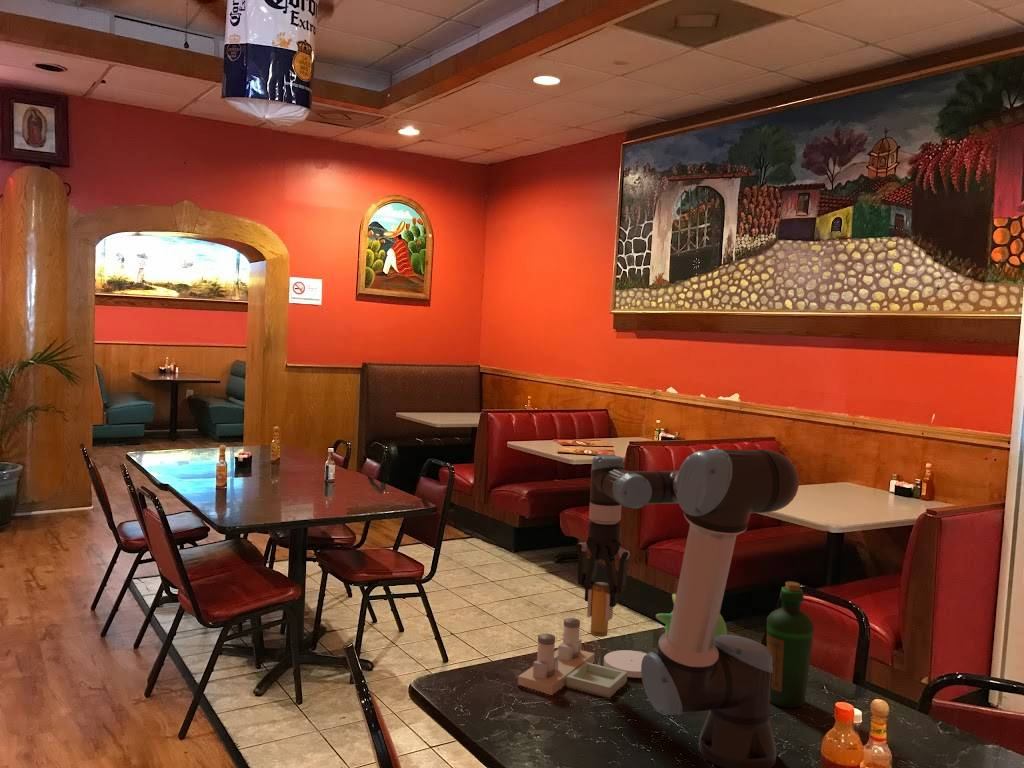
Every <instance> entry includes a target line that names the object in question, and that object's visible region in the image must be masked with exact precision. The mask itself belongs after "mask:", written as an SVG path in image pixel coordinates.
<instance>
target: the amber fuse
mask: <svg viewBox="0 0 1024 768" xmlns="http://www.w3.org/2000/svg"><path fill="white" fill-rule="evenodd" d="M592 587H593V596H592V615H591V617H590V618H591V619H590V635H592V636H593V637H599V638H603V637H607V636H608V631H609V630H608V629H609V628H608V627H609V621H605V612H606V593H608V592H610V591H609V583H608V582H605V581H604V582H603V581H596V582H595V581H594V583H593V586H592Z"/></svg>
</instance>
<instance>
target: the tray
mask: <svg viewBox="0 0 1024 768" xmlns="http://www.w3.org/2000/svg"><path fill="white" fill-rule="evenodd" d="M626 682H628V677H627V672H624V671H620V670H616V669H612V668H608V667H605V666H604V665H600V664H596V663H594V664H592V663H588V662H585V663H584V664H582V665H581V666H580V667H578V668H577V669H576V670H575V671H573V672H572V673H571V674H569V675H568V676H567V678H566V685H565V687H566V686H567V687H566V688H569V687H570V688H569V689H572V688H573V690H576V689H577V690H576V691H580V692H584V693H588V694H591V695H594V696H595V695H596V696H599V697H602V698H606V699H610V698H611V697H612V696H613V695H614V694H616V691H617V690H618V689H619V690H620V689H621V688H623V686H624V685H626V684H627V683H626ZM620 687H621V688H620ZM619 690H618V691H619ZM618 691H617V692H618Z"/></svg>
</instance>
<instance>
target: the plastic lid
mask: <svg viewBox="0 0 1024 768" xmlns="http://www.w3.org/2000/svg"><path fill="white" fill-rule="evenodd" d="M646 654H647V653H646V652H644V651H638V650H631V649H630V650H628V649H624V650H623V649H622V650H620V649H619V650H613V651H610V652H608V653H606V654H605V655H604V656H603V666H604V667H608V668H612V669H616V670H620V671H624V672H627V678H636V679H637V678H639V679H642V675H641V664H642V659H643V657H644V656H645V655H646Z"/></svg>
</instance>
